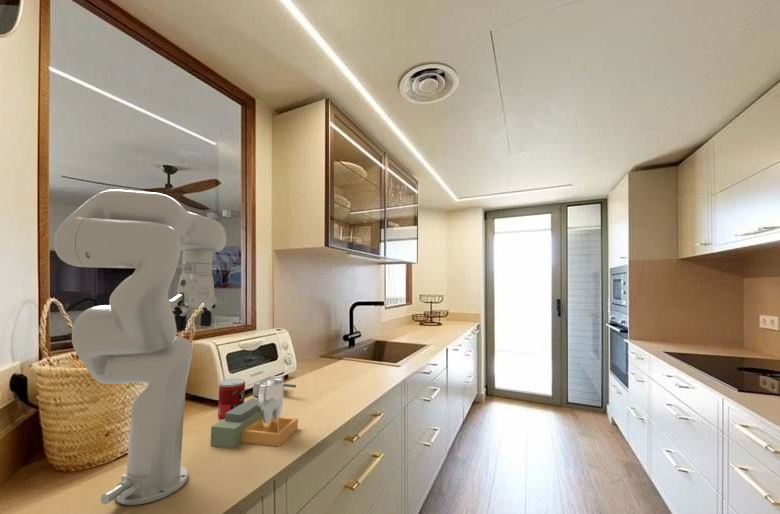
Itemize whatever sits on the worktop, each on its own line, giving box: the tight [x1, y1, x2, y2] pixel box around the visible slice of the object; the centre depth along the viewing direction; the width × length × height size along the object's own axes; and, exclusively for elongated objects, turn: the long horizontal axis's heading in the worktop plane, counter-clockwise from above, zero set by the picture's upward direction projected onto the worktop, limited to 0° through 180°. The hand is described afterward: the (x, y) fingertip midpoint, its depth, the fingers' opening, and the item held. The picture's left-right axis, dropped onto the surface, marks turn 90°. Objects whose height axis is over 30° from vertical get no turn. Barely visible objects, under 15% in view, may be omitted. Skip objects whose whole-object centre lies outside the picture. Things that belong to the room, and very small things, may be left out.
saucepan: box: [252, 375, 297, 398], centre depth 127 cm, size 12×20×6 cm, turn 62°
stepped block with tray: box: [209, 398, 299, 449], centre depth 96 cm, size 20×18×7 cm
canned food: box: [217, 377, 246, 420], centre depth 108 cm, size 8×8×11 cm
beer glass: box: [257, 379, 285, 433], centre depth 94 cm, size 7×7×15 cm
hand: (193, 328), depth 96 cm, fingers open, 9 cm apart
